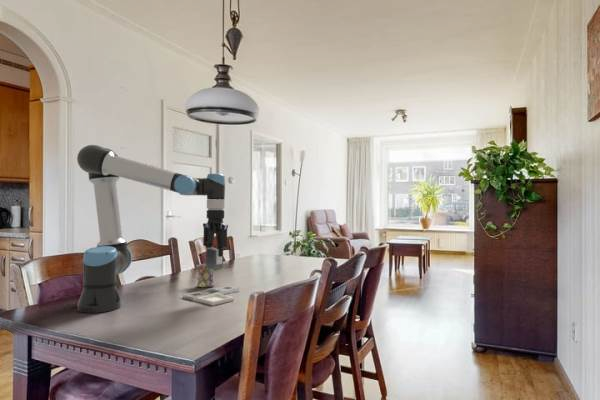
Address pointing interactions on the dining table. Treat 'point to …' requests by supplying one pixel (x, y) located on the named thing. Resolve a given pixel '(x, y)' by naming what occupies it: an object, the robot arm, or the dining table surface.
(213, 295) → the tray
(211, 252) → the dark grey block
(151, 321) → the dining table surface
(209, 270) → the mug
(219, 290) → the rail
